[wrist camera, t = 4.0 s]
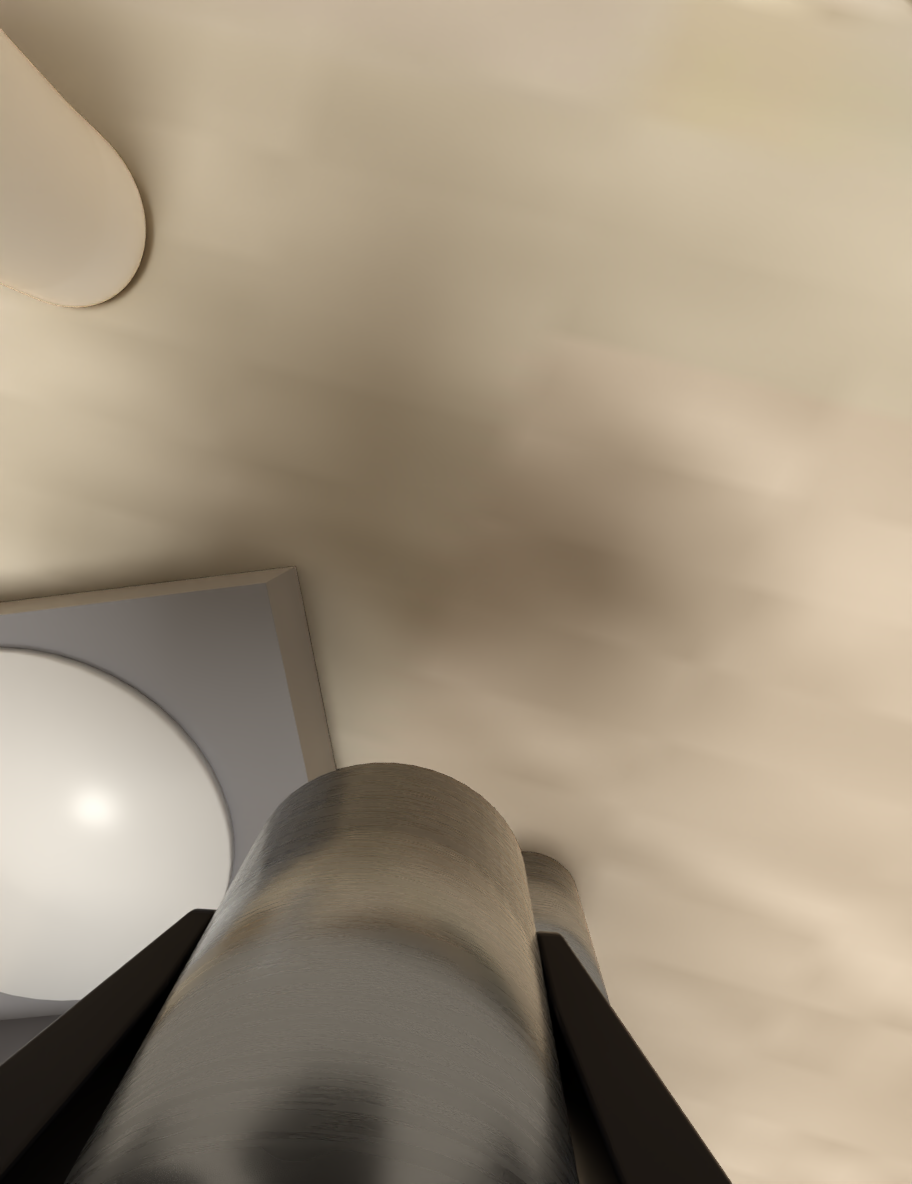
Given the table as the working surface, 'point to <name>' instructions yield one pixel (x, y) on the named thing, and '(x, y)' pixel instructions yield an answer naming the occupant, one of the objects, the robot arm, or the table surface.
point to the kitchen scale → (139, 768)
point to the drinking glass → (61, 196)
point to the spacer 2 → (560, 909)
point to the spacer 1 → (354, 1008)
